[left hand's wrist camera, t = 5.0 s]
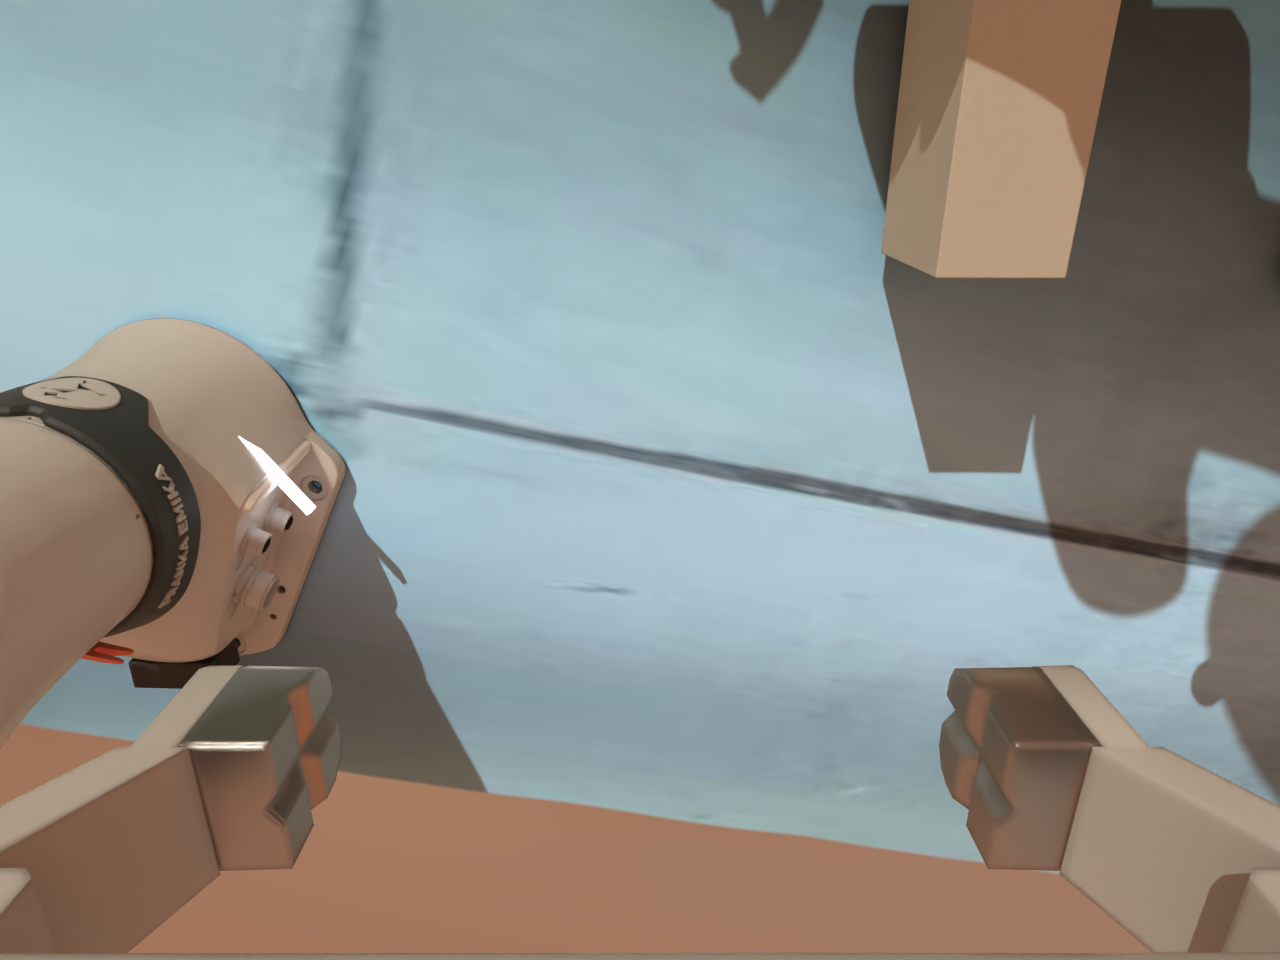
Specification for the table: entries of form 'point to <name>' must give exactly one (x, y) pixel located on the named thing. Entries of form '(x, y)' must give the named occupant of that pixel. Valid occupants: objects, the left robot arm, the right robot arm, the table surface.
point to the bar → (995, 134)
